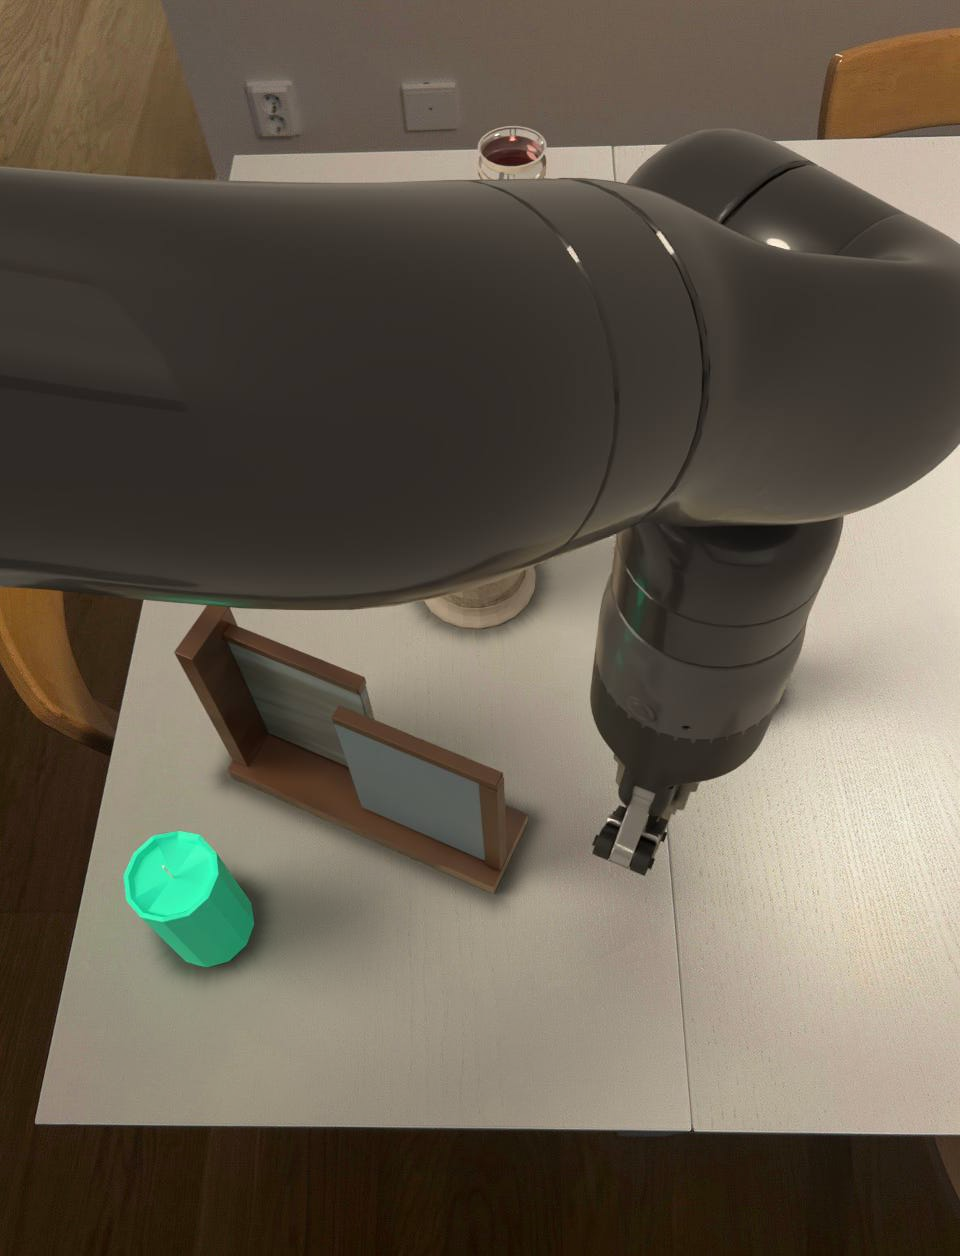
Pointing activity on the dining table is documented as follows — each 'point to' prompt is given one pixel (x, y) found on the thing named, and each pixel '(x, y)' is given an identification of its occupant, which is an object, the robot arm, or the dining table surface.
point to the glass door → (425, 786)
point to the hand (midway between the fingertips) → (647, 818)
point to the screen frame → (304, 736)
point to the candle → (189, 898)
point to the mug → (486, 602)
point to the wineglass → (512, 154)
